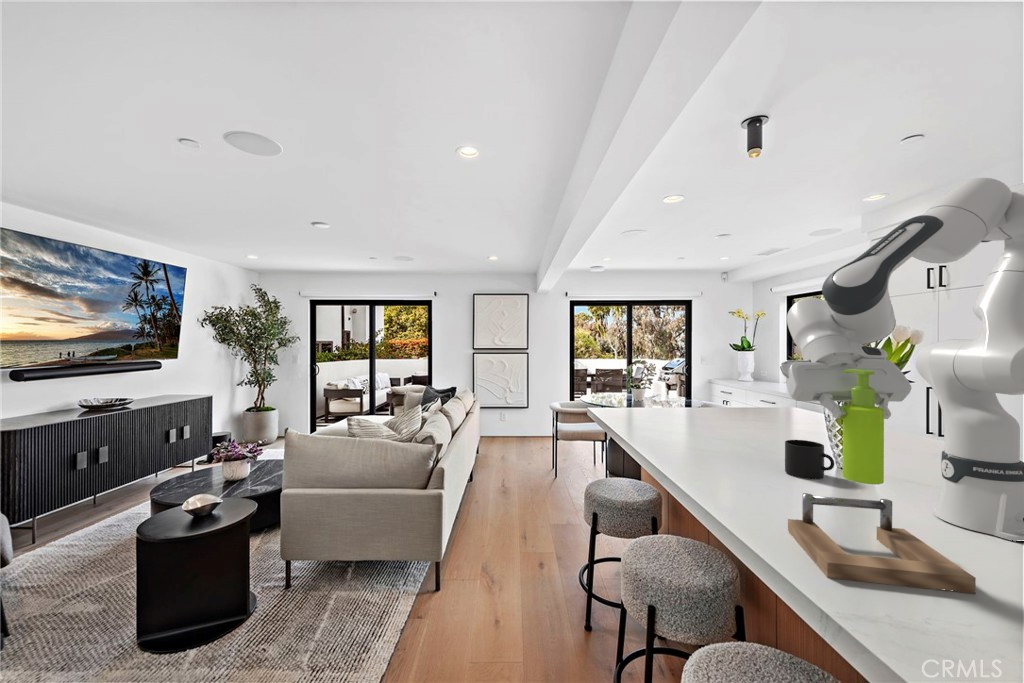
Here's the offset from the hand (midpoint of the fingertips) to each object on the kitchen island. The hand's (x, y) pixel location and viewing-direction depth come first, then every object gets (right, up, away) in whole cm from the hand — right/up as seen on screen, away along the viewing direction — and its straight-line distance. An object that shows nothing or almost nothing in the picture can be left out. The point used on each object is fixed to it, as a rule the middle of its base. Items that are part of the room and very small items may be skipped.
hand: (863, 417), depth 81 cm
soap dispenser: (0, -12, +1) cm, 12 cm away
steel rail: (+2, -22, +7) cm, 24 cm away
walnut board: (0, -25, -1) cm, 25 cm away
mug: (+21, -25, +46) cm, 56 cm away
